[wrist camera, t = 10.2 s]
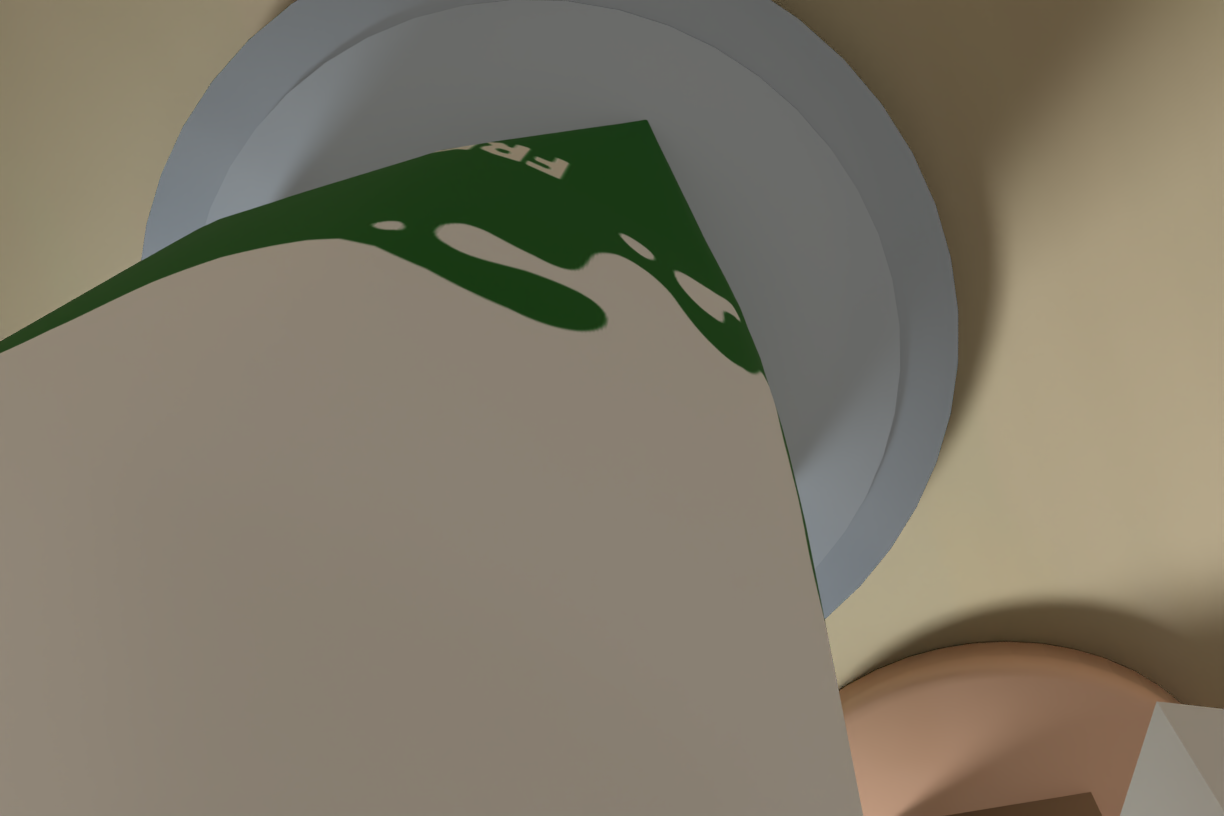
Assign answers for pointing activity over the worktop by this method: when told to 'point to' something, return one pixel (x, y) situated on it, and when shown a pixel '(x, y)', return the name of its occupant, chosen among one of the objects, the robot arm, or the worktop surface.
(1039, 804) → the walnut block
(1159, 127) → the worktop surface
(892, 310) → the slate dish
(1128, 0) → the worktop surface
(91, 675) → the soya milk
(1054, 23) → the worktop surface
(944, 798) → the terracotta dish
